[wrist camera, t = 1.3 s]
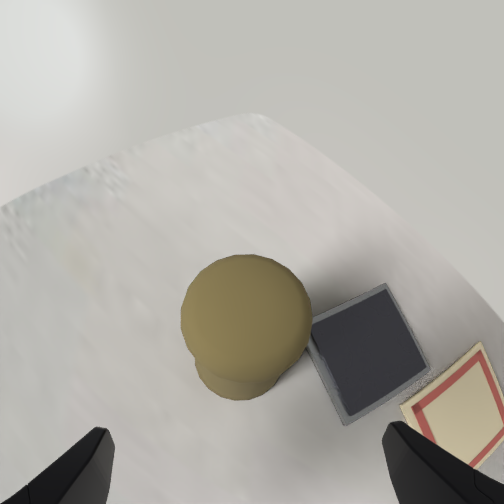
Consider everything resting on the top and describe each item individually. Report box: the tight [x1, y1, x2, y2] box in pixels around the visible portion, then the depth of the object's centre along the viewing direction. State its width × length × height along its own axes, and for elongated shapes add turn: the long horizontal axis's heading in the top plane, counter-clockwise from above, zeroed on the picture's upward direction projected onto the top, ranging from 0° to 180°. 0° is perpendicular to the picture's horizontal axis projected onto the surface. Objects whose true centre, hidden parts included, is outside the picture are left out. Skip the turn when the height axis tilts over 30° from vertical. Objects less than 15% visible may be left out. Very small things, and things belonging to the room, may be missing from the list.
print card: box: [399, 341, 504, 470], centre depth 18 cm, size 10×10×1 cm
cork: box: [181, 254, 313, 400], centre depth 16 cm, size 6×6×11 cm
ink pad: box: [306, 283, 431, 426], centre depth 21 cm, size 8×8×1 cm
